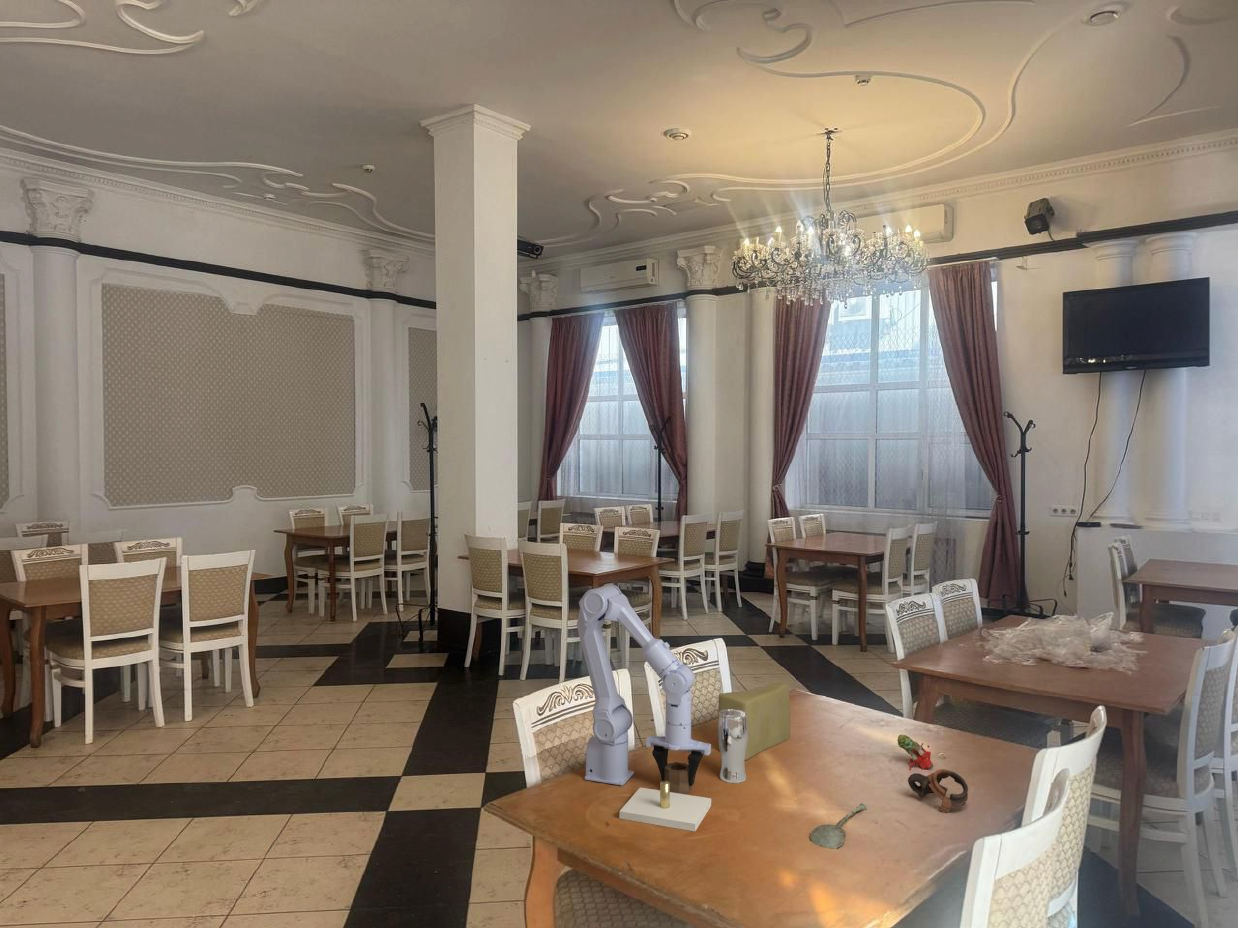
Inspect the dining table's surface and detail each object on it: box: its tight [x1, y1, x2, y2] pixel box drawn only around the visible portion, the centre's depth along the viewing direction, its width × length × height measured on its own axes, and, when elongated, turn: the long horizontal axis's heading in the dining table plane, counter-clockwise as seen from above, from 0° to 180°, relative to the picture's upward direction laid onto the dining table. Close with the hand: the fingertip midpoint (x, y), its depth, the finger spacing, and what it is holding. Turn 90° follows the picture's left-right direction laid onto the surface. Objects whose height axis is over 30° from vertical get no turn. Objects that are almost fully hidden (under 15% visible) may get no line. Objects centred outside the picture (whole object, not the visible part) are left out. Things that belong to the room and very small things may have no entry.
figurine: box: [896, 734, 934, 771], centre depth 196 cm, size 7×9×10 cm
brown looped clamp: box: [907, 769, 969, 814], centre depth 174 cm, size 12×10×8 cm
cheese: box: [717, 682, 791, 761], centre depth 208 cm, size 22×10×15 cm, turn 129°
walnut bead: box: [664, 761, 693, 795], centre depth 180 cm, size 6×6×5 cm
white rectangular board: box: [618, 786, 712, 832], centre depth 169 cm, size 16×13×2 cm
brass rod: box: [659, 780, 670, 809], centre depth 168 cm, size 2×2×6 cm
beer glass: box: [717, 709, 748, 784], centre depth 187 cm, size 7×7×15 cm
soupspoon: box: [809, 802, 868, 850], centre depth 163 cm, size 22×3×7 cm
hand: (677, 782), depth 180 cm, fingers closed on walnut bead, 6 cm apart
